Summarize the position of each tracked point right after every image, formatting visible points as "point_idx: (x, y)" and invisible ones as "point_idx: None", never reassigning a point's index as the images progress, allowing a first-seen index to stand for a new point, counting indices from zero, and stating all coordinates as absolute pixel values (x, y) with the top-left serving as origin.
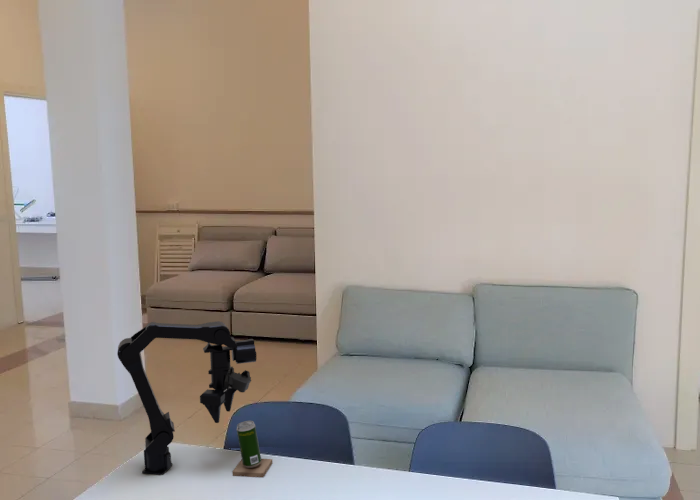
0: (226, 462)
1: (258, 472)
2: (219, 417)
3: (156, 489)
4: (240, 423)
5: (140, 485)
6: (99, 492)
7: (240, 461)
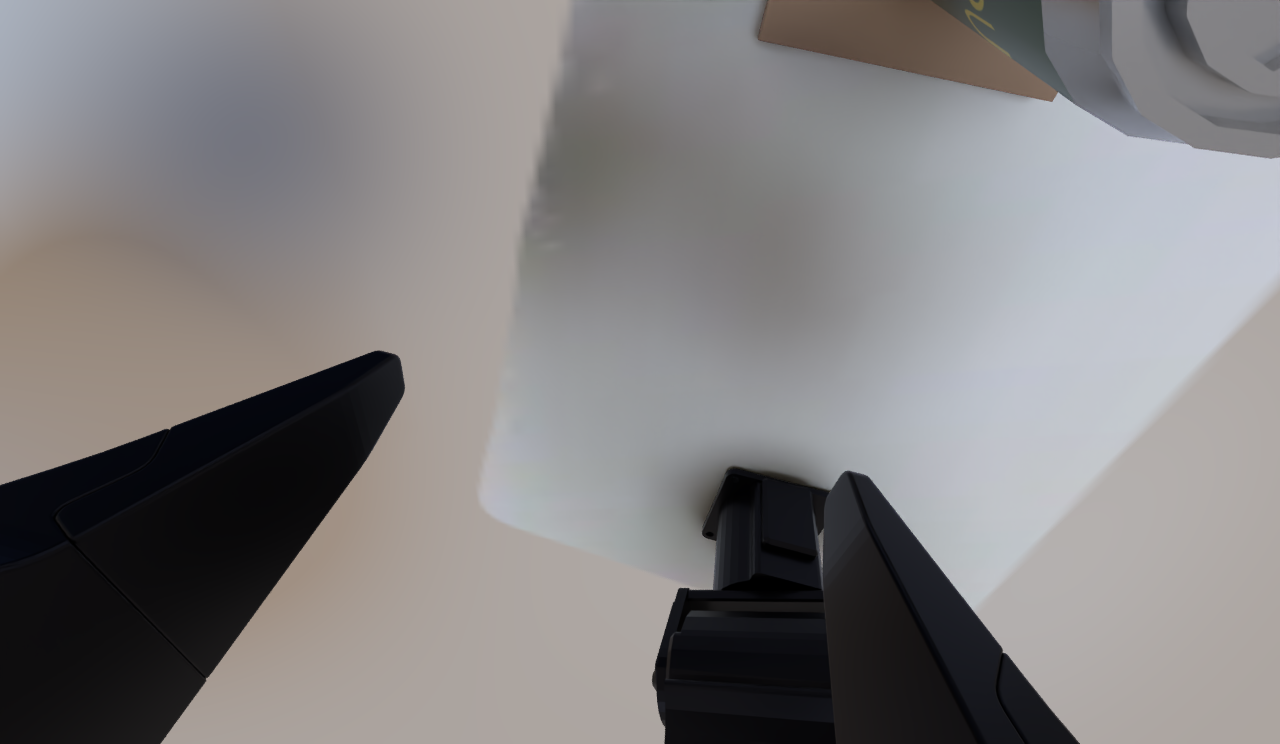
0: (745, 186)
1: None
2: (889, 535)
3: (1006, 506)
4: (1151, 69)
5: None
6: None
7: (845, 49)
